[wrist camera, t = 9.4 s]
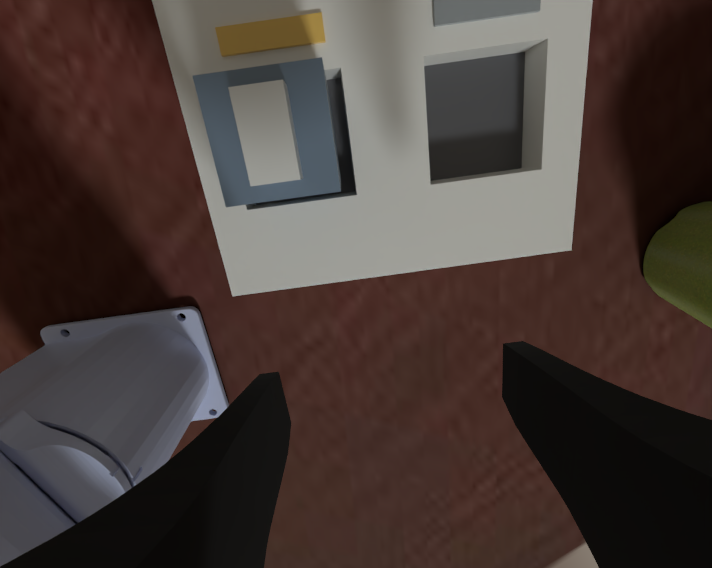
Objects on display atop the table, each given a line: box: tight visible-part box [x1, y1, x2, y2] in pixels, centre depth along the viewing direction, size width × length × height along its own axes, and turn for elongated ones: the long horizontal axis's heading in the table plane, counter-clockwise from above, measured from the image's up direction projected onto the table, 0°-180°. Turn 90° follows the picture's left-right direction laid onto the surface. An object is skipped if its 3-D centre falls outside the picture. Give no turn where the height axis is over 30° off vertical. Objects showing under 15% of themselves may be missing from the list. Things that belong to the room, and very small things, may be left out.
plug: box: [193, 57, 341, 207], centre depth 14 cm, size 4×4×8 cm
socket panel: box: [152, 0, 593, 296], centre depth 17 cm, size 18×14×3 cm
